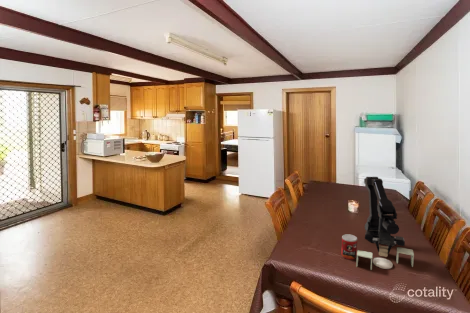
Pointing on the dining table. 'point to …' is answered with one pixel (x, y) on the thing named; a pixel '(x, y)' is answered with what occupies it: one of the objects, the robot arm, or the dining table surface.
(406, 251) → the cover
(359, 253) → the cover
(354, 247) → the canned food
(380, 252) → the block
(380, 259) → the saucer
